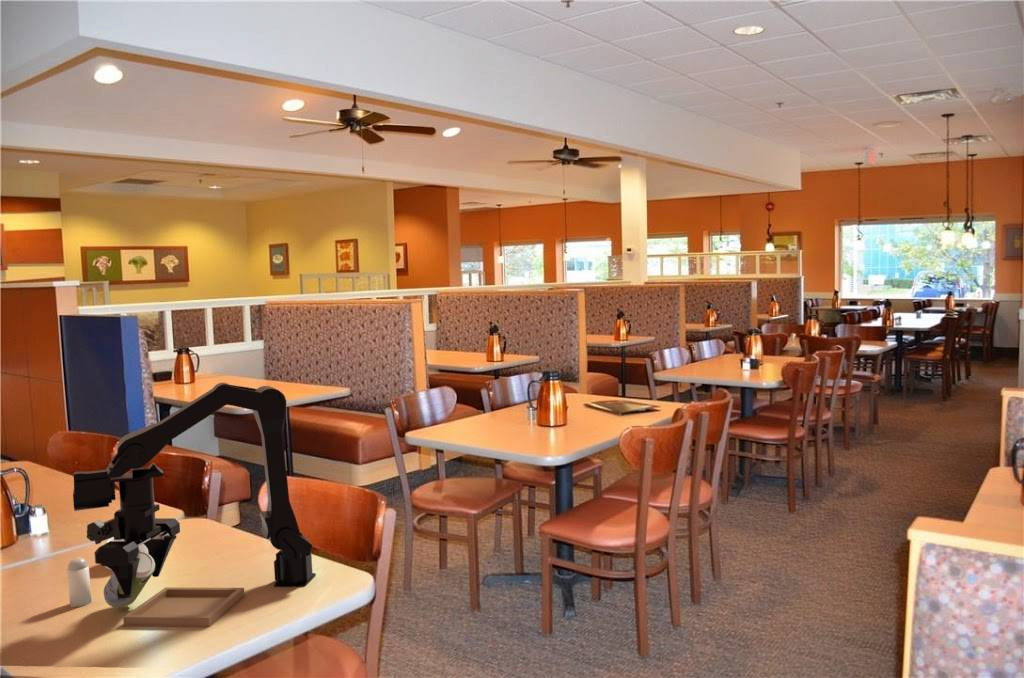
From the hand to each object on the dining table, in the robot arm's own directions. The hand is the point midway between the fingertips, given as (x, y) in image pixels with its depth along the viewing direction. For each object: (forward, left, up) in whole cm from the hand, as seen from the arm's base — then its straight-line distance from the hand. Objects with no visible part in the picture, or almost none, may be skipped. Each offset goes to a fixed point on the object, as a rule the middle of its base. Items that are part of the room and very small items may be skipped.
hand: (142, 585), depth 149 cm
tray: (-8, 0, -5) cm, 10 cm away
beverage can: (-2, +2, +5) cm, 6 cm away
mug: (+17, -23, -5) cm, 29 cm away
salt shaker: (+15, -3, -5) cm, 16 cm away
